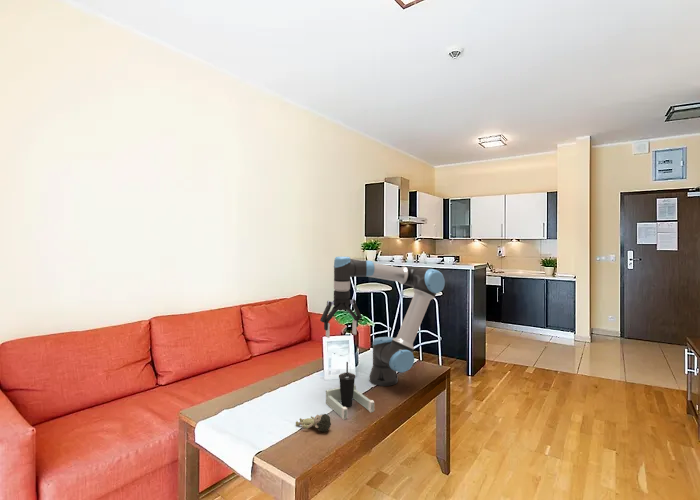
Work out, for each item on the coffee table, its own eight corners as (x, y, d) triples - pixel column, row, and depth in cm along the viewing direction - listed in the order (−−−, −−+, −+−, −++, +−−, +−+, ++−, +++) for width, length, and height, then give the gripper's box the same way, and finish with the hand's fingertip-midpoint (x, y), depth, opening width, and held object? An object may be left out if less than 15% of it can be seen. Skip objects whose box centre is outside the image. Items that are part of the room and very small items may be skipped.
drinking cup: (353, 409, 167) (353, 365, 166) (336, 408, 169) (337, 364, 168) (356, 402, 175) (357, 360, 174) (340, 400, 176) (340, 358, 175)
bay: (354, 396, 181) (354, 384, 181) (374, 411, 166) (374, 398, 166) (325, 403, 174) (325, 390, 173) (343, 419, 158) (343, 405, 158)
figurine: (301, 410, 159) (332, 410, 152) (304, 425, 158) (335, 426, 152) (291, 418, 151) (323, 419, 145) (294, 434, 151) (326, 435, 145)
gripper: (361, 287, 183) (361, 330, 184) (313, 290, 172) (313, 336, 173) (369, 289, 176) (368, 334, 177) (319, 292, 165) (319, 340, 166)
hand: (341, 335), depth 175 cm, fingers open, 13 cm apart
